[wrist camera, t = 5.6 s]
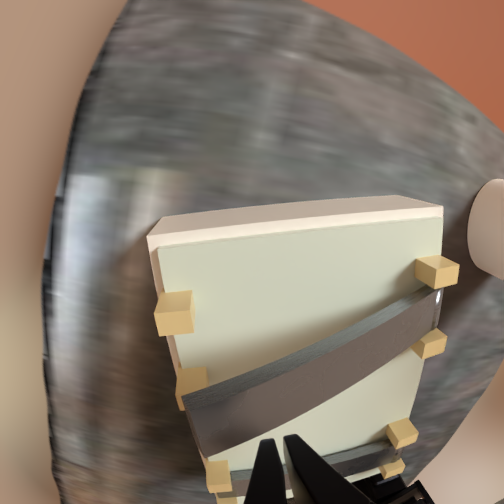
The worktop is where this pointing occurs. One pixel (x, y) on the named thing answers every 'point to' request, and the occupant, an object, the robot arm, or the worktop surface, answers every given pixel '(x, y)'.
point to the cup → (488, 229)
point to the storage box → (298, 309)
